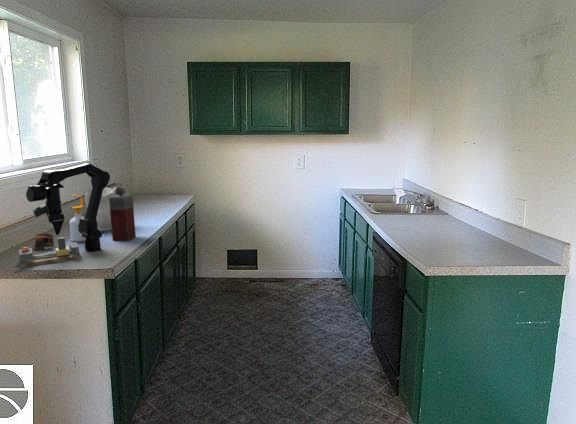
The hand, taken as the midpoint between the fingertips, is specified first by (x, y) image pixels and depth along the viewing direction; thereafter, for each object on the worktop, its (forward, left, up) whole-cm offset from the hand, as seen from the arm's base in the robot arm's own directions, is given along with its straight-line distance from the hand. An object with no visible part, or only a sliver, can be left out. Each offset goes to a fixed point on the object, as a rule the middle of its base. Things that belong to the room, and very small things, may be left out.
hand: (56, 232), depth 203 cm
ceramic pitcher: (-28, -52, -12) cm, 60 cm away
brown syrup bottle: (-34, -23, -12) cm, 43 cm away
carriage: (-2, 0, -10) cm, 10 cm away
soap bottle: (-13, -33, -12) cm, 38 cm away
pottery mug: (+5, -26, -13) cm, 29 cm away
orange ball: (+13, 0, -7) cm, 15 cm away
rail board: (+3, 0, -12) cm, 13 cm away
